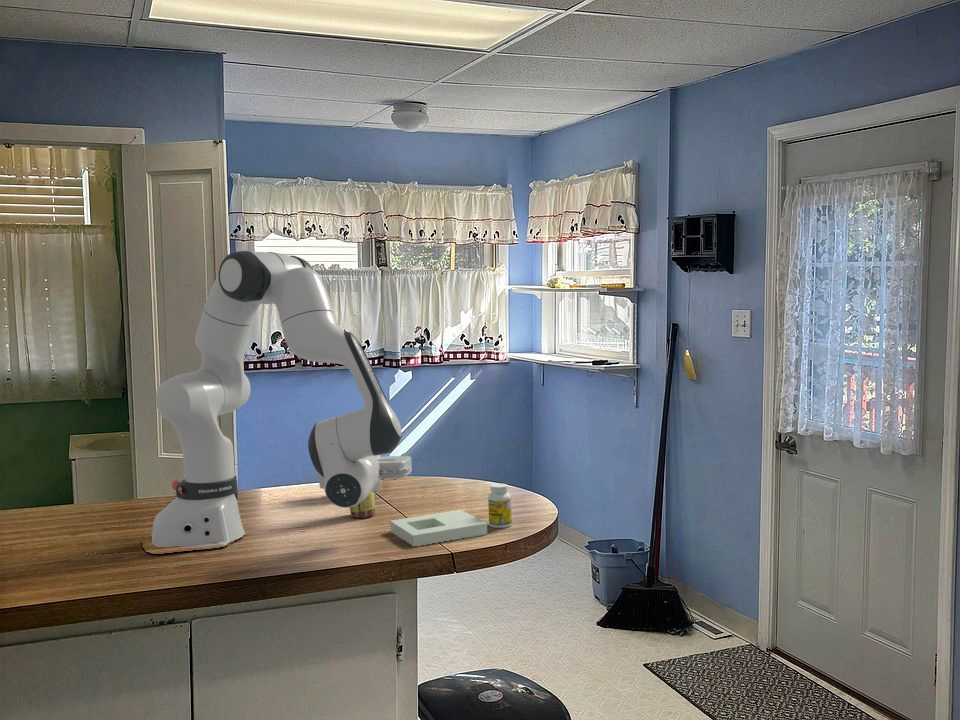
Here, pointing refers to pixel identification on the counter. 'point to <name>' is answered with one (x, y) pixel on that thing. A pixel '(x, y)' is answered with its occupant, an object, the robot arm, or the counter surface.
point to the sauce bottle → (364, 507)
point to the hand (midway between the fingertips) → (370, 459)
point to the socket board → (438, 527)
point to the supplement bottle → (499, 506)
